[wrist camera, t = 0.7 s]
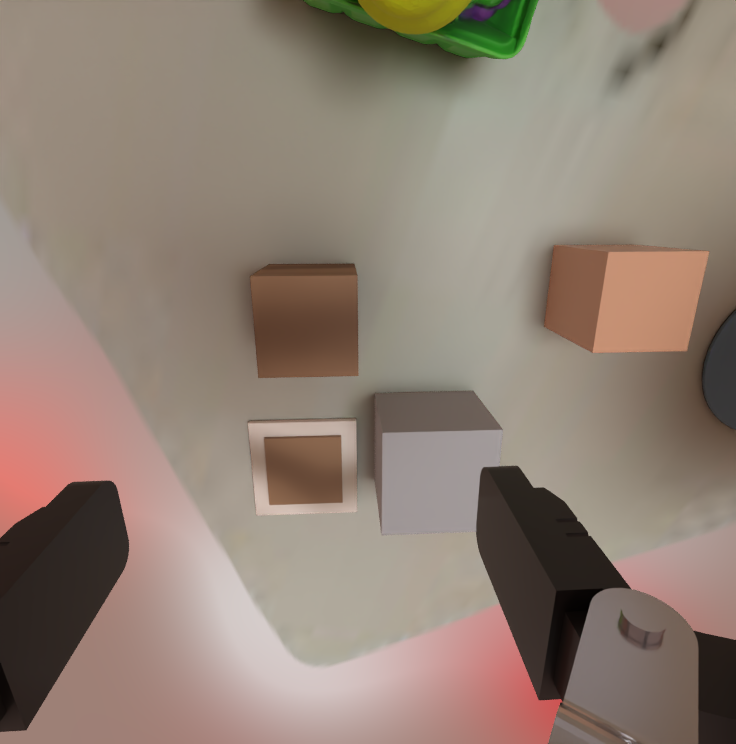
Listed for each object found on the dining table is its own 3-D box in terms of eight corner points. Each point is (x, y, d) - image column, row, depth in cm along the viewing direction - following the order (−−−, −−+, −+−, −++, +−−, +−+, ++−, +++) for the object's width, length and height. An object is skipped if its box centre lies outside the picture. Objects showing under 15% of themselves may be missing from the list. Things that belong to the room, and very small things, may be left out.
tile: (249, 420, 30) (246, 425, 29) (356, 418, 30) (356, 422, 30) (257, 512, 32) (255, 518, 32) (357, 508, 33) (357, 514, 32)
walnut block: (269, 264, 27) (249, 276, 21) (354, 263, 27) (357, 275, 22) (275, 346, 29) (258, 377, 23) (355, 344, 29) (358, 375, 23)
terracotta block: (553, 245, 28) (608, 251, 22) (634, 244, 28) (709, 251, 22) (543, 326, 29) (592, 352, 23) (620, 325, 29) (686, 351, 24)
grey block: (374, 392, 30) (382, 432, 24) (472, 390, 30) (503, 429, 25) (374, 479, 32) (381, 535, 26) (466, 476, 32) (492, 531, 27)
